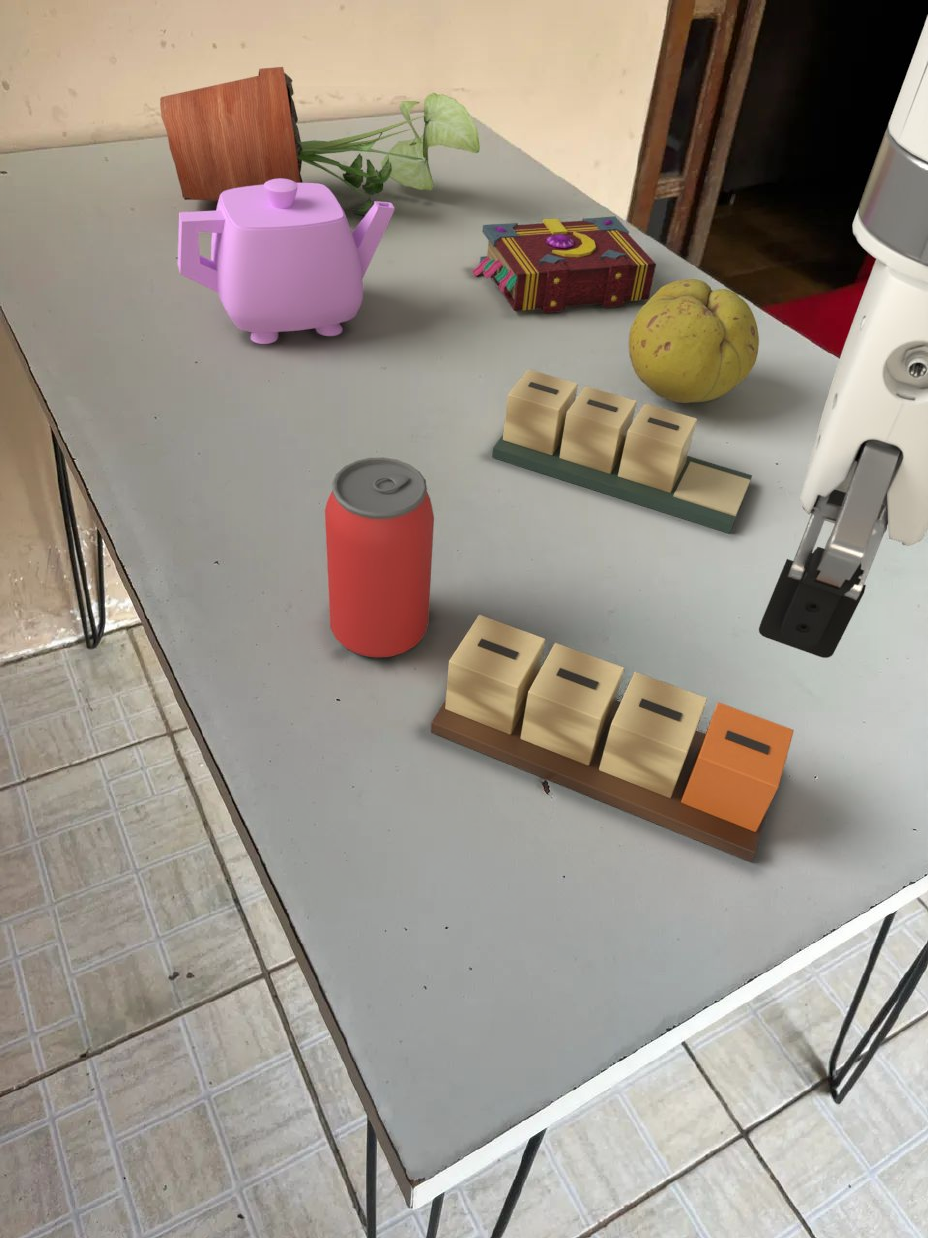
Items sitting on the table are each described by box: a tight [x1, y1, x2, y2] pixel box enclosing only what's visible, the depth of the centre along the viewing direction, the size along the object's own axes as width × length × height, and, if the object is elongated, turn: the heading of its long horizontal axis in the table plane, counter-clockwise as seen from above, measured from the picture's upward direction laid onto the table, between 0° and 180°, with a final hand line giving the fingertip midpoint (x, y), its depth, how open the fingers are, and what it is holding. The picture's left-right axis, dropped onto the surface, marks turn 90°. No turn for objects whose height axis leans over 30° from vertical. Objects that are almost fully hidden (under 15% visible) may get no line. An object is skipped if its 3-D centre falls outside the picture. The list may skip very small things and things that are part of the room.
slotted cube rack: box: [491, 369, 753, 534], centre depth 78 cm, size 20×7×6 cm, turn 65°
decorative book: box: [471, 215, 657, 314], centre depth 101 cm, size 11×16×5 cm
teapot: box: [177, 178, 395, 345], centre depth 90 cm, size 20×12×13 cm, turn 110°
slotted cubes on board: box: [430, 614, 769, 862], centre depth 58 cm, size 20×7×6 cm, turn 65°
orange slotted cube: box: [681, 701, 794, 832], centre depth 55 cm, size 4×4×4 cm
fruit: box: [628, 278, 760, 404], centre depth 85 cm, size 11×12×10 cm
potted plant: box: [159, 66, 481, 216], centre depth 109 cm, size 16×15×35 cm
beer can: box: [324, 457, 435, 659], centre depth 62 cm, size 7×7×12 cm
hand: (814, 575), depth 45 cm, fingers open, 9 cm apart
